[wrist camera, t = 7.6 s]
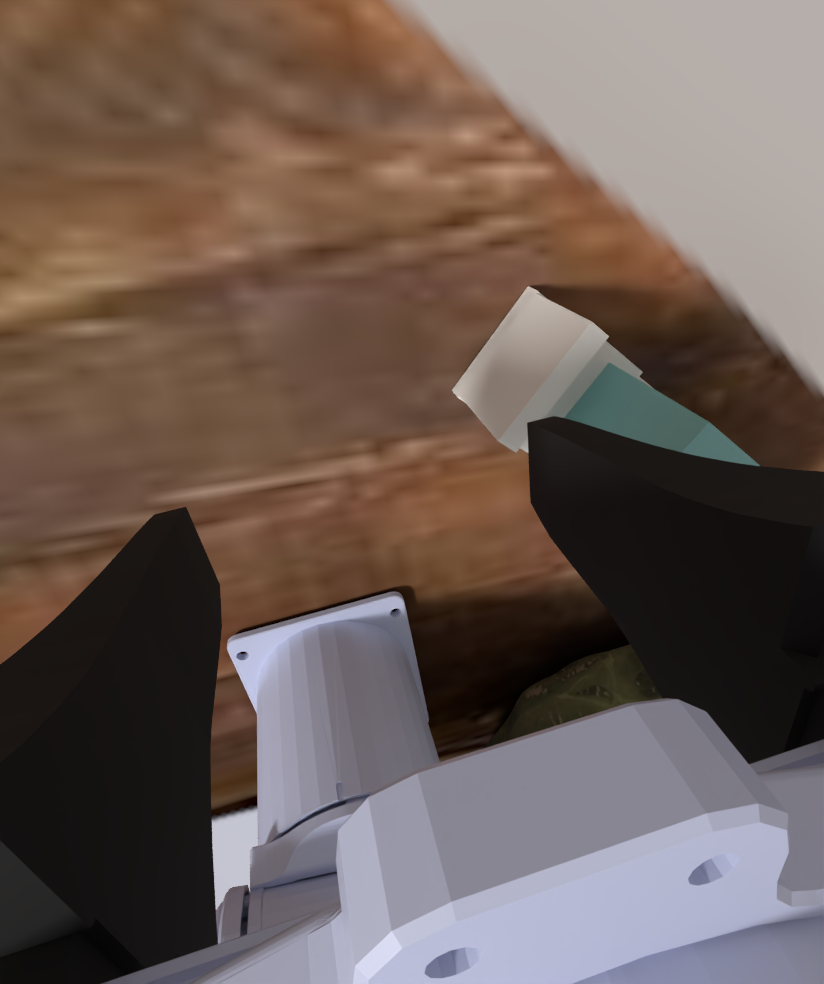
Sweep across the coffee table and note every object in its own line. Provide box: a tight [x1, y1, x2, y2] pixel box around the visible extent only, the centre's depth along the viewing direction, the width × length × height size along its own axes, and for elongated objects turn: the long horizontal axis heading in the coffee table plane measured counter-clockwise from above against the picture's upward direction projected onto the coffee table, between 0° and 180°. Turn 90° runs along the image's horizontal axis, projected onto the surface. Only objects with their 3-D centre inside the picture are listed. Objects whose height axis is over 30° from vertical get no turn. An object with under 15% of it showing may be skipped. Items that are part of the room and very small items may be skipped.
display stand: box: [452, 286, 654, 453], centre depth 22 cm, size 12×5×5 cm, turn 54°
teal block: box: [564, 362, 760, 466], centre depth 20 cm, size 9×4×5 cm, turn 54°
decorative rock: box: [483, 645, 662, 749], centre depth 30 cm, size 15×16×10 cm
